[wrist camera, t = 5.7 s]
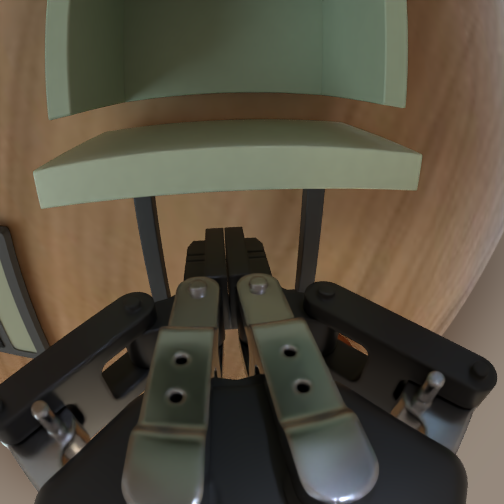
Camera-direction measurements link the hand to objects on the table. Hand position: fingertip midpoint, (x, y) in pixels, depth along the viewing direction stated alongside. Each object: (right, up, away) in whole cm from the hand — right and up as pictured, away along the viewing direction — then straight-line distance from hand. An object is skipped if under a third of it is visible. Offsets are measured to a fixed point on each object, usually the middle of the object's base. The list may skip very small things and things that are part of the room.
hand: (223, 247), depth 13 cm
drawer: (0, +8, -1) cm, 8 cm away
